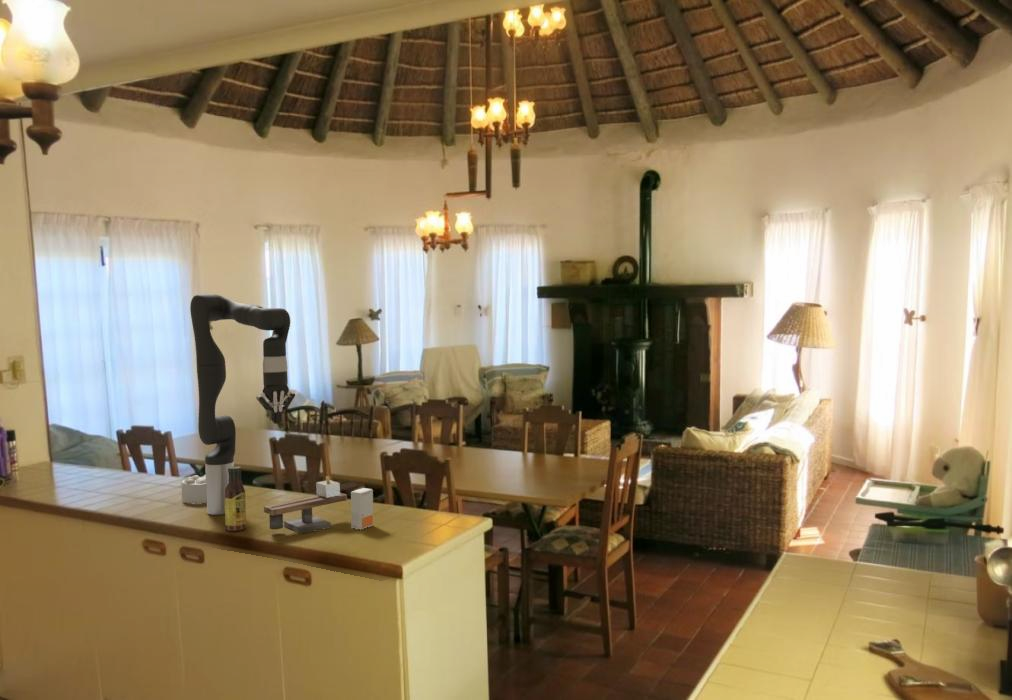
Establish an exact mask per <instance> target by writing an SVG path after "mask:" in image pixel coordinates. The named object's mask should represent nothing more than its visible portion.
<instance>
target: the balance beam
mask: <svg viewBox="0 0 1012 700" xmlns="http://www.w3.org/2000/svg"><path fill="white" fill-rule="evenodd" d="M346 501H348V494H346V493H343V492H340V495H339V496H334V497H329V498H325V497H322V496H319V495H314V496H309V497H304V498H298V499H293V500H289V501H284V502H279V503H275V504H273V503H272V504H269V505H264V506H263V512H264V513H265V514H268V515H269V529H270V530H280V529H282V528H284V527H285V526H286V527H285V528H287V527H288V529H289V528H290V530H292V531H294V530H295V532H296V531H297V532H296V533H298V532H299V534H301V533H302V534H301V535H304V534H303V533H305V534H307V533H306V532H309V533H311V532H310V531H313V532H315V531H314V530H318V531H320V530H319V529H322V530H324V529H323V528H326V529H329V528H328V527H330V528H331V527H332V526H331V525H332V524H331V522H330V521H328V520H326V519H323V518H320V517H318V516H315V515H313V508H316V507H322V506H327V505H331V504H336V503H341V502H346ZM297 511H301V517H298V518H297V517H296V518H293V519H287V520H285V521H284V514H287V513H288V514H289V513H293V512H297Z"/></svg>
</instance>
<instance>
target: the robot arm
mask: <svg viewBox="0 0 1012 700" xmlns="http://www.w3.org/2000/svg"><path fill="white" fill-rule="evenodd" d="M189 310H190V317H191V324H192V328H193V329H192V330H193V336H194V345H195V354H196V359H195V360H196V375H197V387H198V420H197V421H198V423H197V426H198V436H199V439H200V441H201V442H202V443H203V444H204V445H207V446H208V445H209V446H211V445H216V446H214V448H213V449H212V450H211V451H209V453H207V454H206V455H205V458H204V463H205V467H204V468H205V469H204V470H205V475H206V496H207V503H206V514H208V515H212V516H215V515H225V489H226V487H227V485H228V483H229V473H228V468H229V467H235V461H234V458H235V454H236V440H237V439H236V438H237V436H236V431H237V430H236V424H235V421H234V419H233V418H232V417H231V416H230V415H225V414H224V415H218V416H216V404H217V400H218V398H219V395H220V393H221V391H222V389H223V387H224V385H225V382H226V379H227V369H226V358H225V356H224V354H223V351H221V349H220V347H219V346H218V345H217V343H216V341H215V340H214V338H213V336H212V333H211V327H210V322H217V321H223V320H234V321H236V322H237V323H238V324H241V325H245V326H248V327H249V326H250V327H254V328H256V329H258V330H260V331H261V330H262V331H272V333H271V336H269V337H267V338H265V339H264V340H263V343H262V344H263V345H262V347H263V349H262V353H263V359H262V371H263V372H262V377H263V379H262V382H263V383H262V384H263V390H262V393H261V394H260V395H257V396H256V400H257V401H258V402H259V404H260V405H261V406H262V407H263V408H264V410H265V411H268V412H270V413H271V422H272V423H273V424H274V425H277V424H281V422H282V420H283V411H284V410H287V409H288V408H289V406H290V405H291V403H292V402H293V400H294V398H295V397H296V393H294V392H291V390H290V388H289V386H288V385H289V384H288V378H289V376H288V362H287V361H288V360H287V346H286V344H287V339H288V335H289V333H290V332H289V331H290V327H291V315H290V313H289V312H288V310H287V309H285V308H281V307H280V308H279V307H278V308H265V307H262V306H260V305H257V304H251V303H243V302H237V301H235V300H232V299H229V298H227V297H224V296H222V295H220V294H213V293H212V294H211V293H209V294H207V293H206V294H205V293H203V294H202V293H201V294H200V293H199V294H195V295H193V297H192V299H191V301H190V309H189ZM267 400H268V402H267Z"/></svg>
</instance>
